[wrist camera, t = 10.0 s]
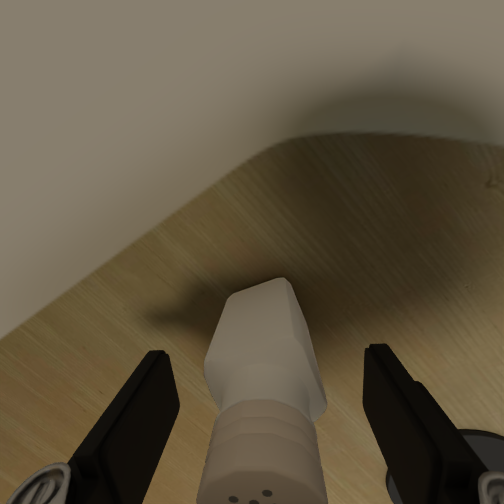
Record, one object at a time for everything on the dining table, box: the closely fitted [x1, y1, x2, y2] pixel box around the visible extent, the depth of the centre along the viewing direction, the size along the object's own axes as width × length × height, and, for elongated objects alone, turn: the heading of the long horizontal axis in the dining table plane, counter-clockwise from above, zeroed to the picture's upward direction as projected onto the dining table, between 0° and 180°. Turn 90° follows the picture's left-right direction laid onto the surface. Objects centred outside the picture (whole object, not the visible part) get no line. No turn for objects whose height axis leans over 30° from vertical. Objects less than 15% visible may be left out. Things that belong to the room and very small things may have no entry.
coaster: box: [386, 430, 504, 504], centre depth 17 cm, size 10×10×1 cm
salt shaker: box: [196, 277, 328, 504], centre depth 10 cm, size 4×4×10 cm
